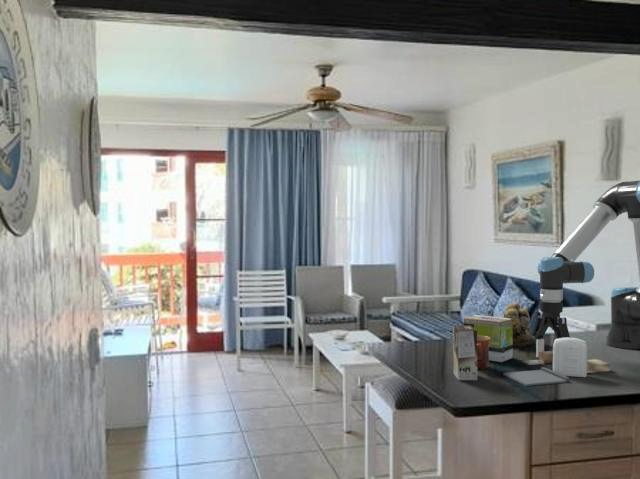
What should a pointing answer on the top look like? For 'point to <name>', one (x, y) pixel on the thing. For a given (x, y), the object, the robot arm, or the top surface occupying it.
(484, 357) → the mug
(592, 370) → the rest
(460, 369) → the coffee box
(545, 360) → the tall brown carton
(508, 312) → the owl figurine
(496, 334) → the tea box
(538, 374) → the mat
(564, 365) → the photo printer
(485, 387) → the top surface
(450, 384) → the top surface
